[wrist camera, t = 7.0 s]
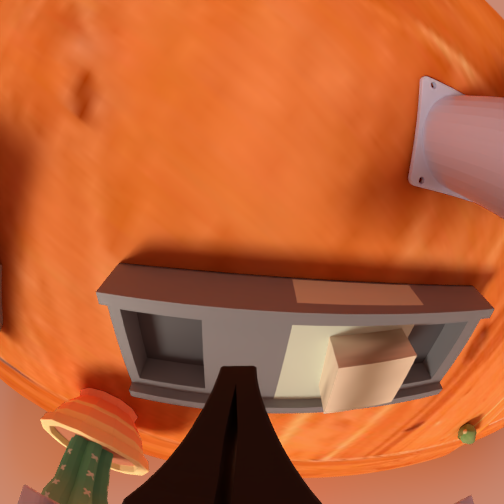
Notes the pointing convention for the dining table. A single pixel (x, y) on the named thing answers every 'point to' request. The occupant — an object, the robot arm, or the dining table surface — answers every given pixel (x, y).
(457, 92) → the robot arm
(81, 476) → the potted cactus
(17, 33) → the dining table surface
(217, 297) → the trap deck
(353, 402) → the birch block
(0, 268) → the gray angular rack
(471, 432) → the edible corn
